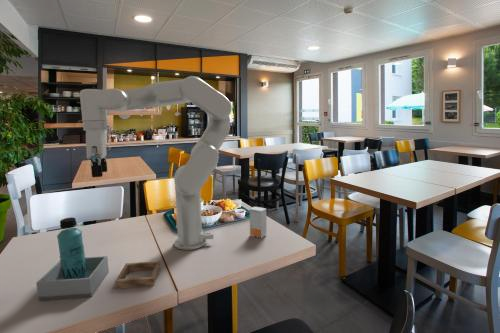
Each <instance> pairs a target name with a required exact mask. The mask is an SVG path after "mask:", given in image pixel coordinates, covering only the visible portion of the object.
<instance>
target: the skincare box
mask: <svg viewBox="0 0 500 333" xmlns="http://www.w3.org/2000/svg"><path fill="white" fill-rule="evenodd" d="M250 235H252V236H251V237H254V236H257V237H256V238H258V237H261V238H260V239H263V238H265V237H266V236H267V207H266V208H265V207H262V206H261V207H260V206H252V207H251V208H249V236H250ZM265 235H266V236H265ZM264 236H265V237H264ZM262 237H263V238H262Z"/></svg>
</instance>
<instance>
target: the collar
mask: <svg viewBox="0 0 500 333" xmlns="http://www.w3.org/2000/svg"><path fill="white" fill-rule="evenodd" d="M160 270H161V261H160V260H157V261H144V262H143V261H142V262H127V263H125V264H124V266H123V268H122V269H121V271H120V273H119V274H118V276H117V278H116V279H115V281H114V282H115V284H114V285H115V289H116V290H118V289H128V288H129V289H130V288H142V287H154V286H155V284H156V281H157V279H158V276H159V273H160ZM138 271H141V272H142V271H152V273H151V275H150V276H146V277H145V276H144V277H131V278H126V277H127V276H128V275H129V273H130V272H138Z"/></svg>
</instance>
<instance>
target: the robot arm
mask: <svg viewBox="0 0 500 333" xmlns="http://www.w3.org/2000/svg"><path fill="white" fill-rule="evenodd" d="M79 99H80V100H79V101H80V109H81V120H82V128H83V130H82V131H85V147H86V148H85V149H86V159H87V160H90V170H91V177H92V178H101V177H103V173H107V172H108V162H107V141H106V131H107V130H108V119H107V111H114V112H126V111H133V110H140V109H146V108H147V109H148V108H159V107H160V108H161V107H167V106H172V105H173V106H174V105H183V104H188V103H192V104H194V105H195V106H196V107H198V108H199V109H201V110H203V111H204V112H205V113H206V115H207V117H208V124H207V126H206V129H205V130H204V131H203V133H202V135H201V136H200V138H199V139H198V141H197V142H196V143H195V145H194V146H193V147H192V149H191V152H190V157H189V159H188V160H187V162H186V163H185V165H181V166H179V167H178V168H177V170H176V171H175V172H174V176H173V177H174V178H173V179H174V180H173V181H174V190H175V192H174V193H175V209H176V226H177V227H176V228H177V238H176V239H174V242H173V244H174V247H175V248H176V249H179V250H182V251H183V250H184V251H190V250H191V251H192V250H196V249H199V248H201V247H204V246H205V245H206V244H207V240H214V234H212V233H211V232H204V228H203V227H202V226H203V224H202V222H203V221H202V199H201V198H202V196H201V195H202V194H201V190H202V188H203V187H204V185H205V184H206V183H207V181H208V180H209V178H210V177H211V175H212V174H213V171H214V170H215V169H216V167H217V165H218V162H219V159H220V158H219V157H220V156H219V151H220V149H221V148H222V146H223V144H224V143H225V140H226V139H227V137H228V135H229V133H230V128H231V117H230V115H231V112H232V106H233V105H232V103H231V101H230V100H229V99H228V97H226V96H225V95H224V94H223V93H221V92H219V91H218V90H217V89H215V88H214V87H213V86H211V85H209V84H208V83H207V82H206V81H204V80H203V79H201V78H200V77H199V76H194V75H190V76H187V77H184V78H183V79H176V80H167V81H159V82H158V81H157V82H153V83H150V84H147V86H143V87H139V88H131V89H124V90H121V89H119V88H115V87H113V88H105V89H97V88H84V89H81V90H80V92H79ZM108 131H109V130H108Z"/></svg>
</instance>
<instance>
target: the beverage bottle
mask: <svg viewBox="0 0 500 333" xmlns="http://www.w3.org/2000/svg"><path fill="white" fill-rule="evenodd" d="M59 224H60V225H59V227H60V228H61V229H62V230H61V231H59V233H58V234H57V235H56V238H57V243H58V248H59V249H58V250H59V258H60V259H59V261H61V264H60V265H61V269H62V271H61V272H62V275H63V280H65V279H79V278H85V277H86V275H87V269H86V268H87V266H86V262H85V257H86V254H85V246H84V241H83V240H84V239H83V232H82V230H81V229H79V228H77V227H75V226H77V225H78V224H77V220H76V218H75V217H67V218H63V219H60V223H59Z"/></svg>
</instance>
